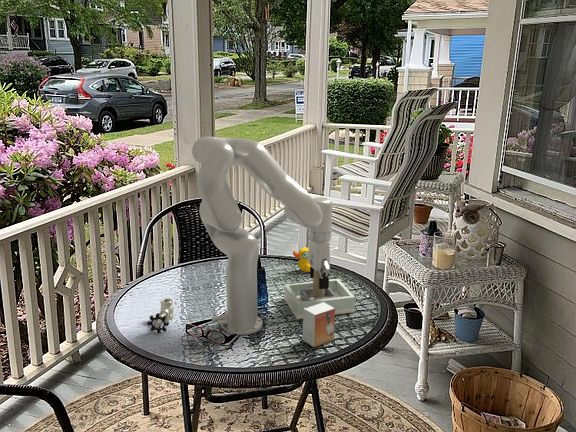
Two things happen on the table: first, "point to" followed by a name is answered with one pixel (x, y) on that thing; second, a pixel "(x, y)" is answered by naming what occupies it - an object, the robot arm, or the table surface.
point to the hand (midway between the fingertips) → (319, 283)
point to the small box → (318, 324)
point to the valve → (162, 316)
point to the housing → (334, 296)
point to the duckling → (303, 259)
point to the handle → (317, 284)
